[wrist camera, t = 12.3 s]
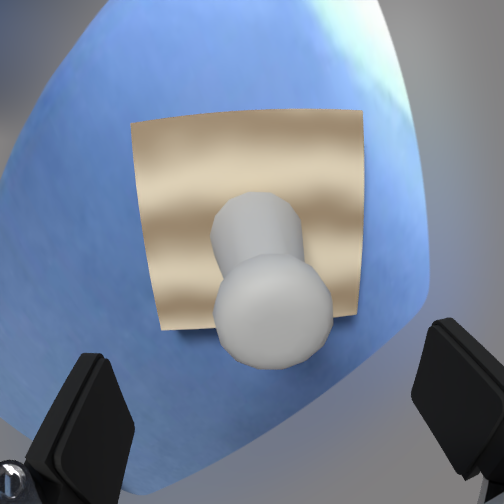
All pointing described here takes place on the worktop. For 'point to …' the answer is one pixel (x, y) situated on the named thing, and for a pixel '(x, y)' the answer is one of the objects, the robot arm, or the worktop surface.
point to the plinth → (242, 181)
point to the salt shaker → (267, 284)
